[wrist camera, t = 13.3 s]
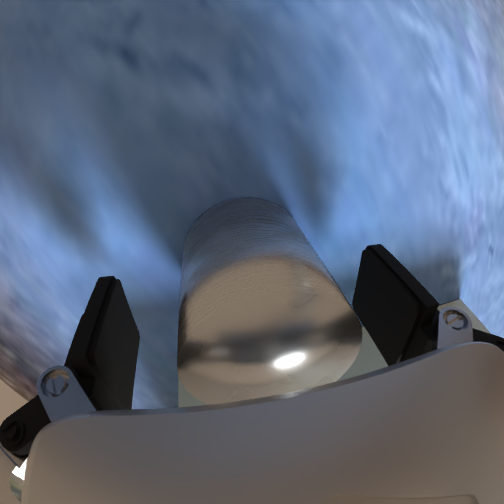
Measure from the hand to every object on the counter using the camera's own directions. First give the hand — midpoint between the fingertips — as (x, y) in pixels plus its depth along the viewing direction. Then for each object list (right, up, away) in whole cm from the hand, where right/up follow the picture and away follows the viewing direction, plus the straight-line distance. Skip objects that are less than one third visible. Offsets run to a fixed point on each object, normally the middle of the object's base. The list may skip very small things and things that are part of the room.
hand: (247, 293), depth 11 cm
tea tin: (0, +1, +2) cm, 2 cm away
